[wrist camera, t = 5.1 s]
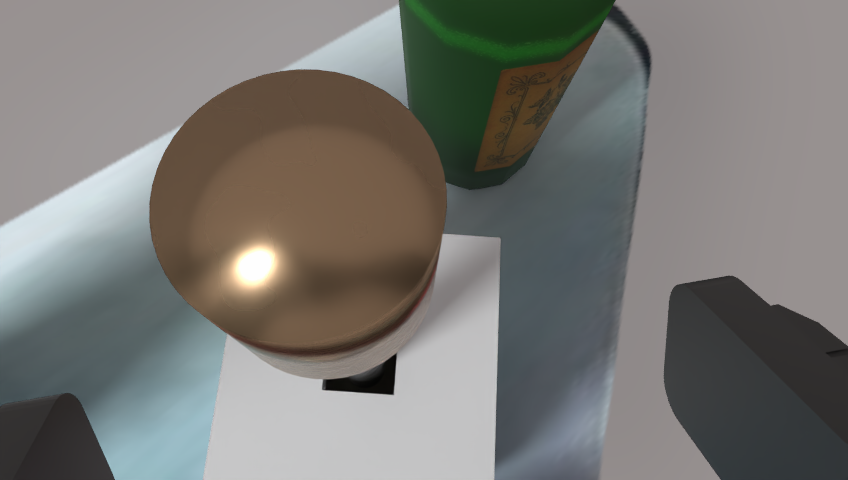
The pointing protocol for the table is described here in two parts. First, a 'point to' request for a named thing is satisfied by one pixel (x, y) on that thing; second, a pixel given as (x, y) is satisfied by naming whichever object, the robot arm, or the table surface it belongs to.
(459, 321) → the white box
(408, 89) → the bottle
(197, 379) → the table surface
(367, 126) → the brown round knob
